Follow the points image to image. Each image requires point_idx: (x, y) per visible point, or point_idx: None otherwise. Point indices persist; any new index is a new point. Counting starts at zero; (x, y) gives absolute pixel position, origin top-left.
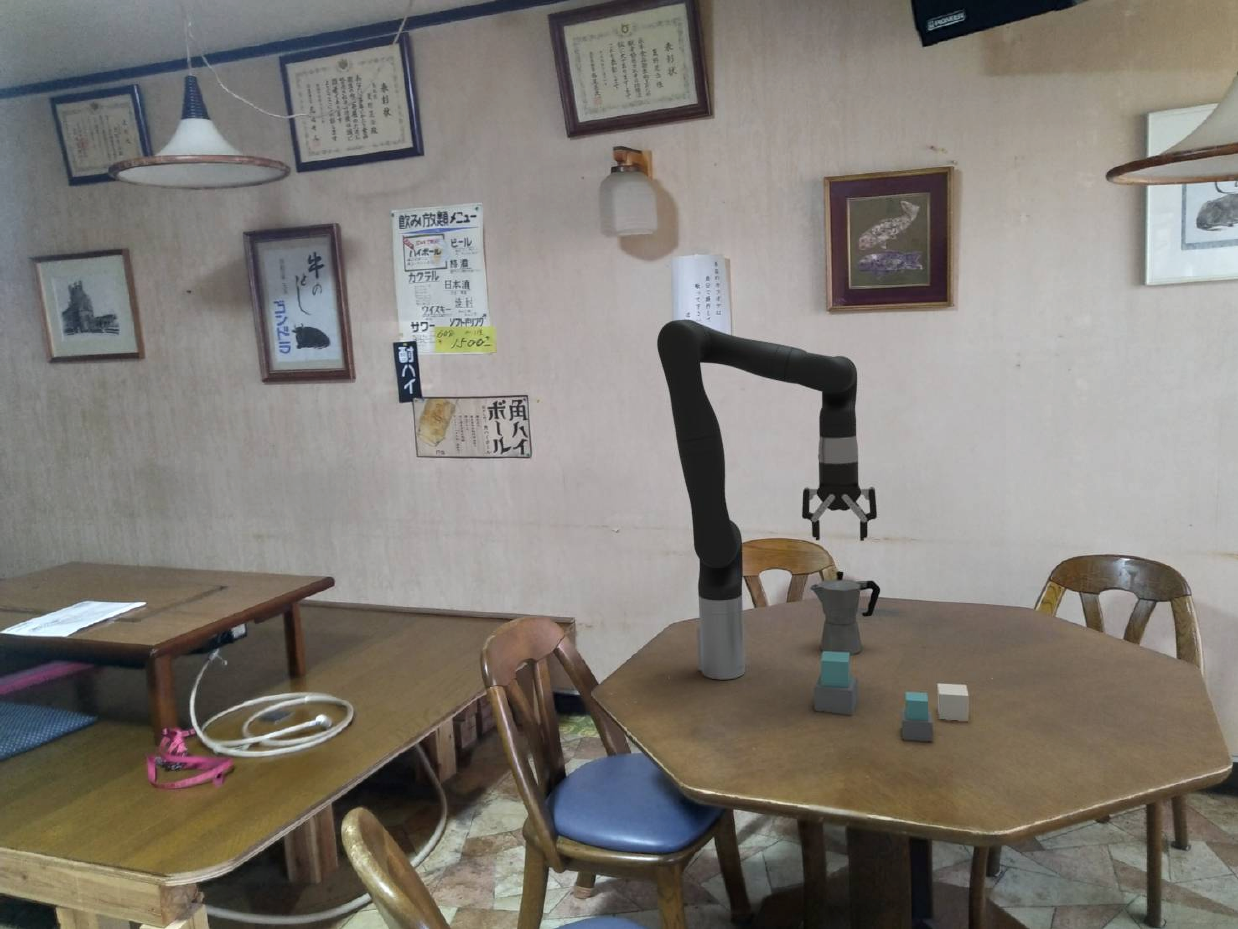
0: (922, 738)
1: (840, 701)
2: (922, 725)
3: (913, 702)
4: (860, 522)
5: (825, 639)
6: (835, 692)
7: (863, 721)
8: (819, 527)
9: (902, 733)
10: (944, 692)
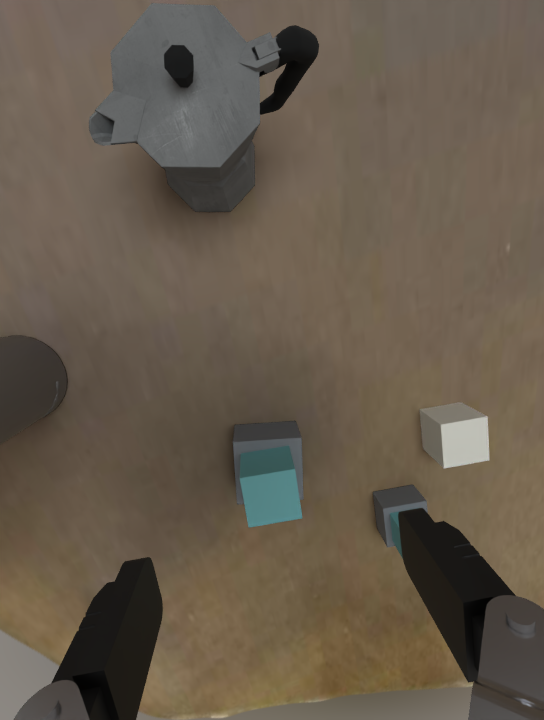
0: None
1: None
2: None
3: None
4: (471, 671)
5: (178, 187)
6: None
7: (317, 491)
8: (130, 640)
9: (380, 533)
10: (452, 459)
